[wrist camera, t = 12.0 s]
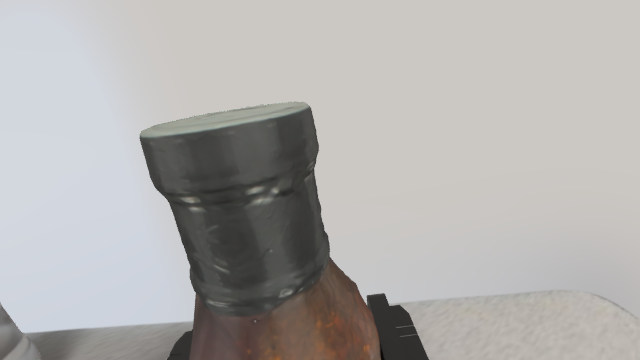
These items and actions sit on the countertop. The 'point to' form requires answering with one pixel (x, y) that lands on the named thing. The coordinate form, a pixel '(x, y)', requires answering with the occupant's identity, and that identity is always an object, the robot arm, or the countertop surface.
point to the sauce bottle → (257, 237)
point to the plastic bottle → (15, 341)
